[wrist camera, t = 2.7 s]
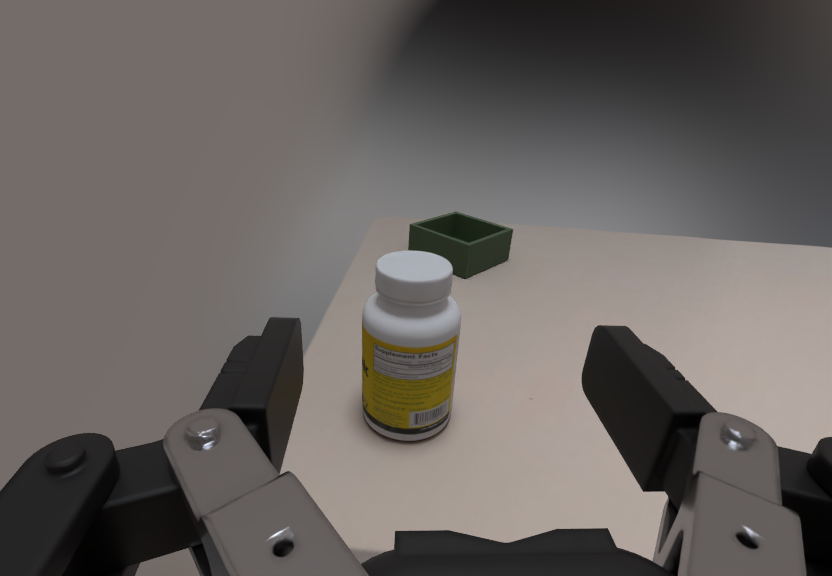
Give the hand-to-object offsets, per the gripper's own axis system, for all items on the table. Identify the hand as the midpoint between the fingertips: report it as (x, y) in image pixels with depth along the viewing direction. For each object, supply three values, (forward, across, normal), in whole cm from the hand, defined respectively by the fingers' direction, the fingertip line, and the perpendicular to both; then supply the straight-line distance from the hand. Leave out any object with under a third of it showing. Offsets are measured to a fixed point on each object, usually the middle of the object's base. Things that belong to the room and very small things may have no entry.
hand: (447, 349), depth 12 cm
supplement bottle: (+11, 0, +12) cm, 17 cm away
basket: (+36, -7, +12) cm, 39 cm away
